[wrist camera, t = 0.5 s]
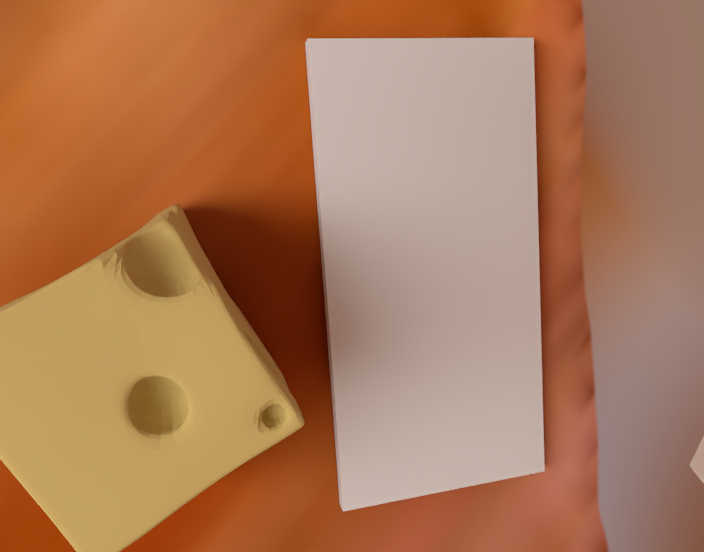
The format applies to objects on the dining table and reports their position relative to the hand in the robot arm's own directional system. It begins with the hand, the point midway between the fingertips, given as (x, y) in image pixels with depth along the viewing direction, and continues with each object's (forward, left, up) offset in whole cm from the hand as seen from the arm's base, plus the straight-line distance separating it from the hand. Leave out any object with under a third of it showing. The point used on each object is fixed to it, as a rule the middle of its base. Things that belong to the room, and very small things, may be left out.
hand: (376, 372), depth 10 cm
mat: (+2, +10, -23) cm, 25 cm away
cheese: (+4, -6, -23) cm, 24 cm away
